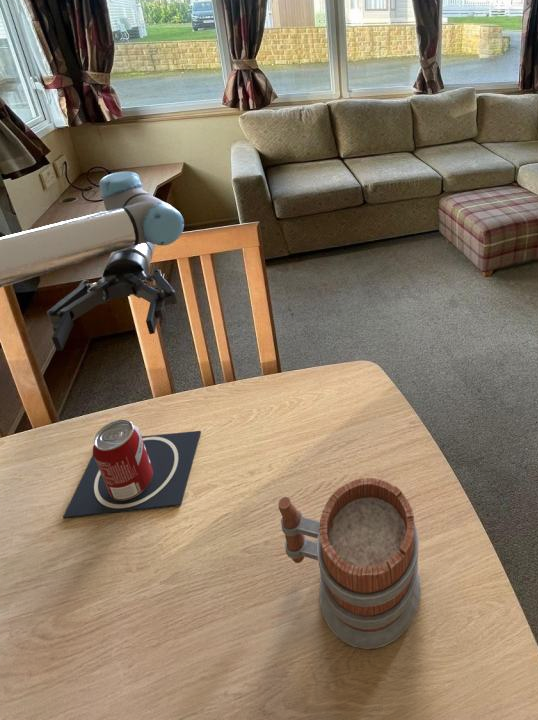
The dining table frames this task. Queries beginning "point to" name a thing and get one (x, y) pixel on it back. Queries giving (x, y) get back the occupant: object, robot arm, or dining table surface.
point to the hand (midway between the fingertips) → (104, 335)
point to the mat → (165, 489)
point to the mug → (361, 560)
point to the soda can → (122, 459)
